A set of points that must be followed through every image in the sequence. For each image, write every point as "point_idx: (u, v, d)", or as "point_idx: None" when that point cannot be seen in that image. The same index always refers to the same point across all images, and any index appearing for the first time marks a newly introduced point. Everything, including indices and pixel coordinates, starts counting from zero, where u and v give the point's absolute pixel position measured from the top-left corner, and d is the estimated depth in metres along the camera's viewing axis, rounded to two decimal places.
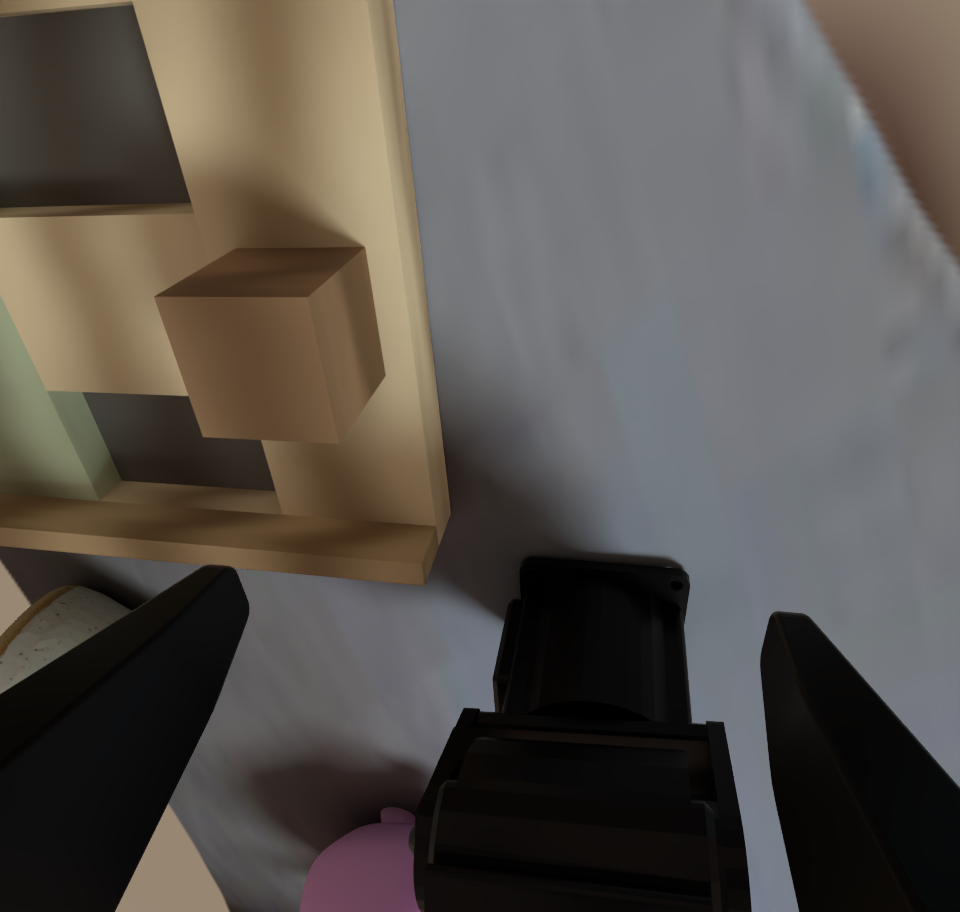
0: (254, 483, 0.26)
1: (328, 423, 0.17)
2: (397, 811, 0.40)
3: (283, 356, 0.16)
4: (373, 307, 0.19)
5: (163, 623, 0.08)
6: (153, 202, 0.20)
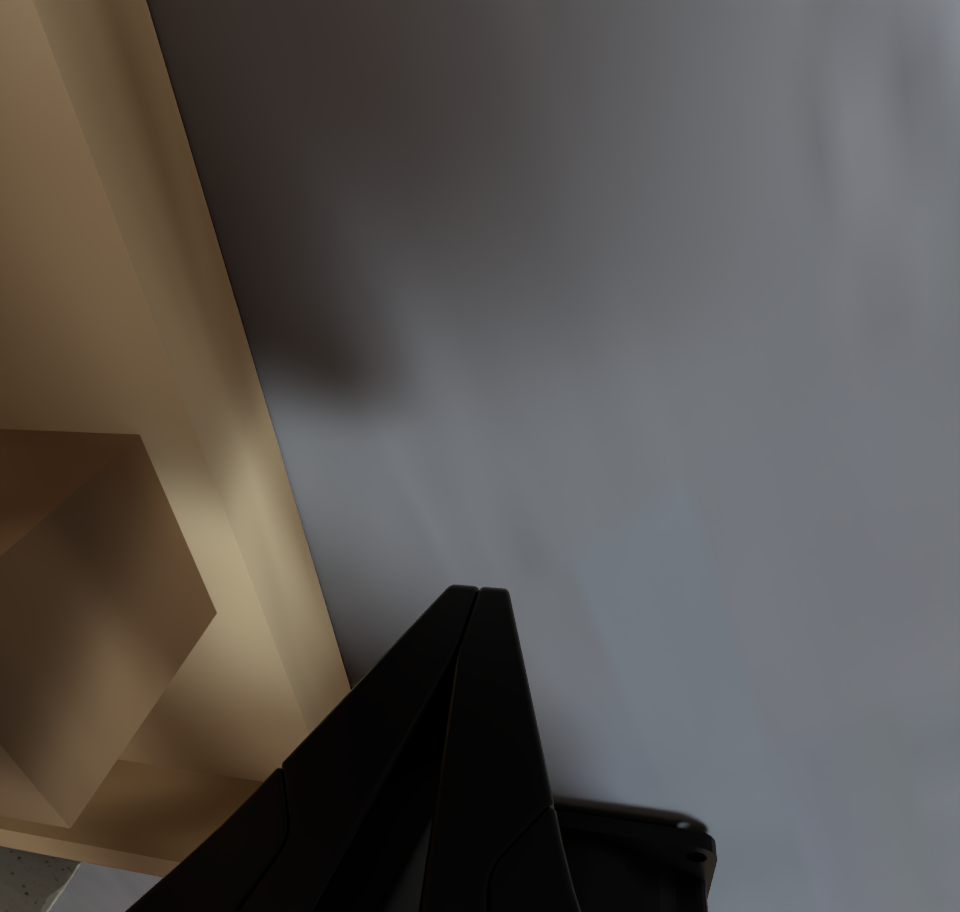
0: None
1: (39, 802, 0.09)
2: None
3: None
4: (173, 525, 0.11)
5: (444, 652, 0.08)
6: None
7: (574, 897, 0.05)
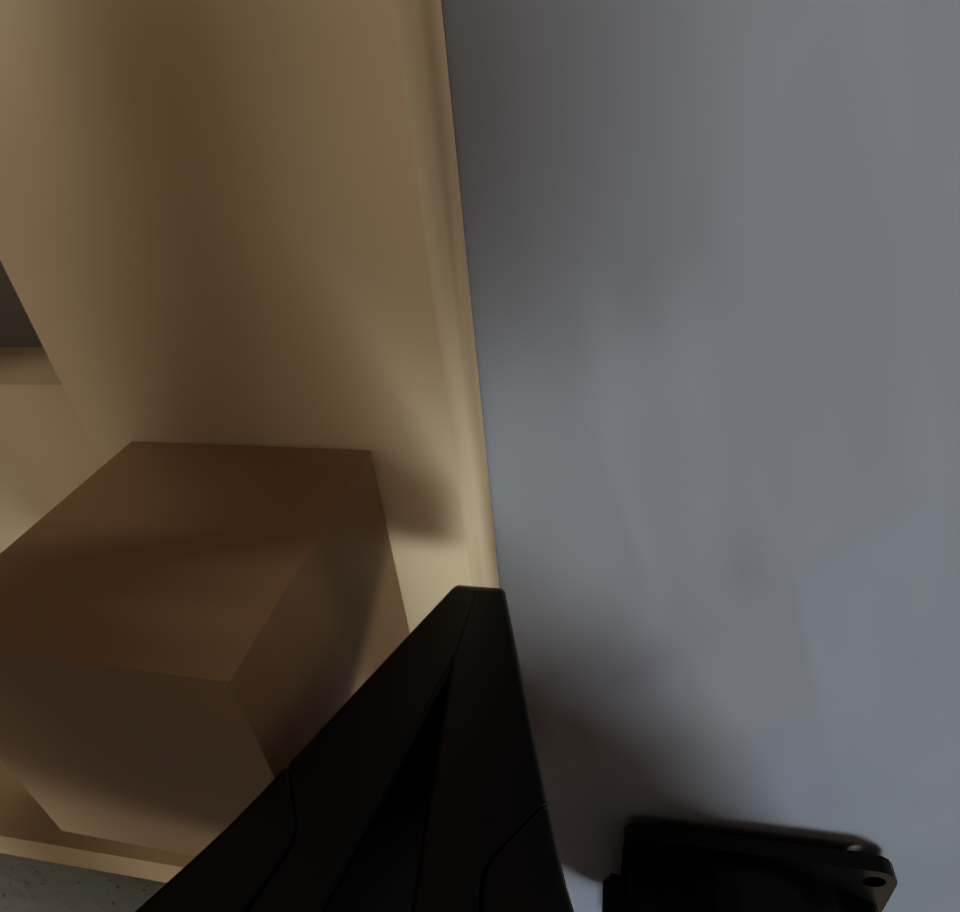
0: None
1: None
2: None
3: (190, 759, 0.07)
4: (387, 546, 0.10)
5: (450, 653, 0.08)
6: (7, 345, 0.11)
7: (565, 894, 0.05)
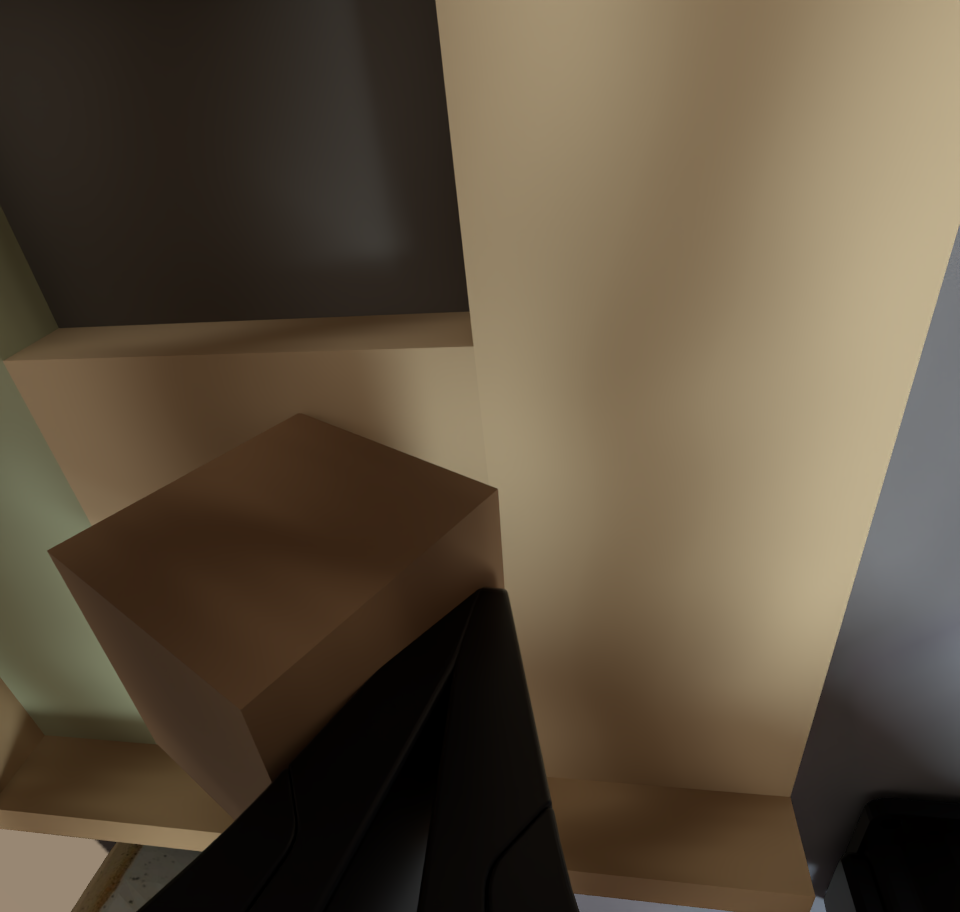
0: None
1: None
2: None
3: (224, 751, 0.07)
4: None
5: (450, 653, 0.08)
6: (354, 314, 0.11)
7: (571, 895, 0.05)
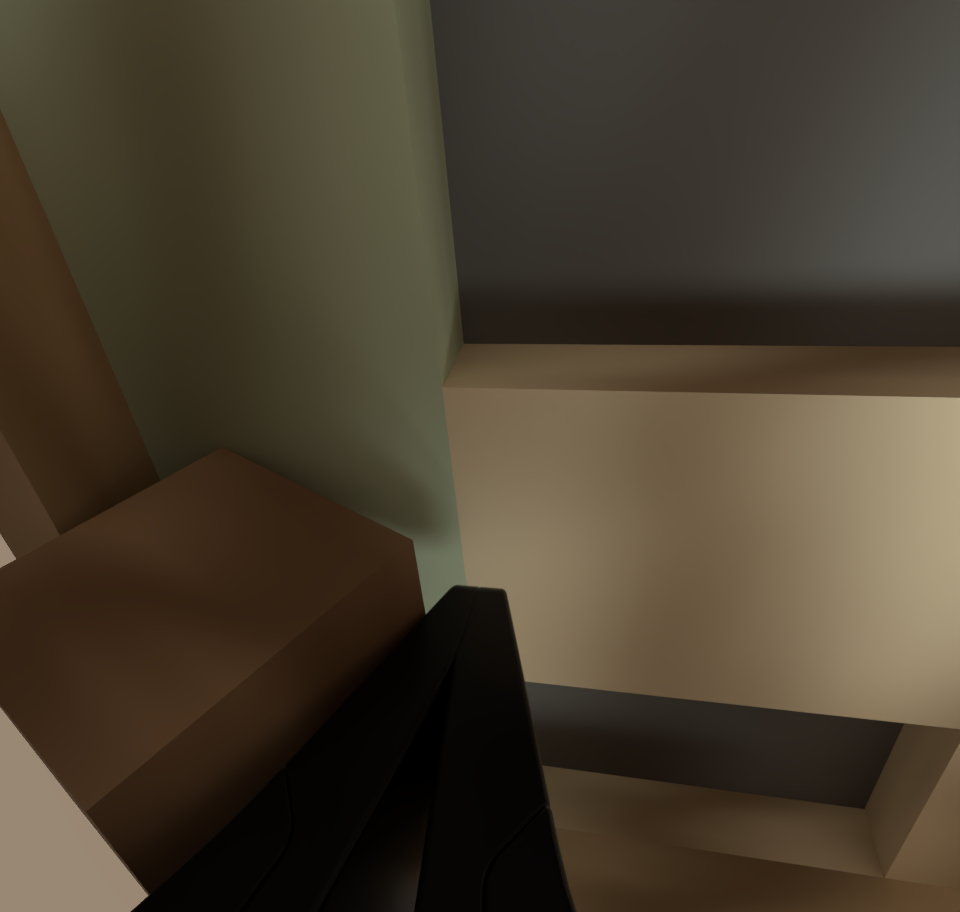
0: (779, 790, 0.14)
1: None
2: None
3: None
4: None
5: (447, 653, 0.08)
6: (884, 344, 0.09)
7: (570, 895, 0.05)
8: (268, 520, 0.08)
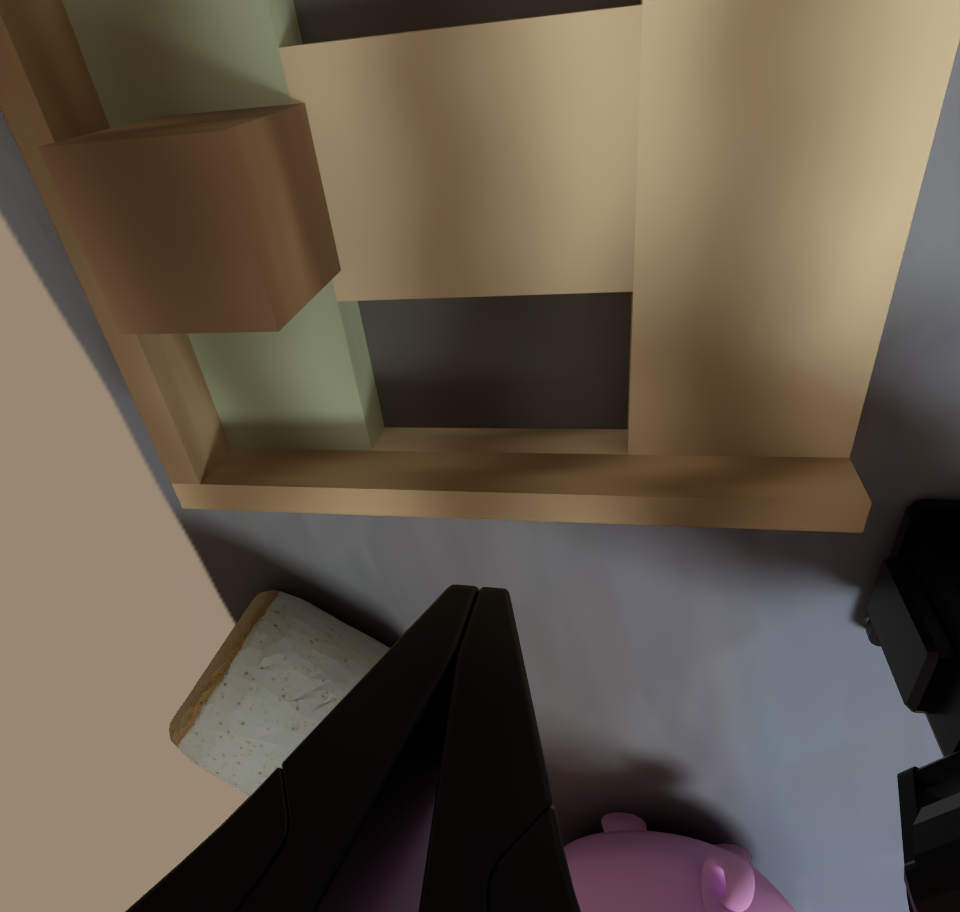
0: (569, 420, 0.21)
1: (263, 304, 0.14)
2: (626, 817, 0.34)
3: (200, 217, 0.13)
4: (320, 181, 0.16)
5: (444, 652, 0.08)
6: (538, 14, 0.15)
7: (574, 895, 0.05)
8: (217, 114, 0.15)
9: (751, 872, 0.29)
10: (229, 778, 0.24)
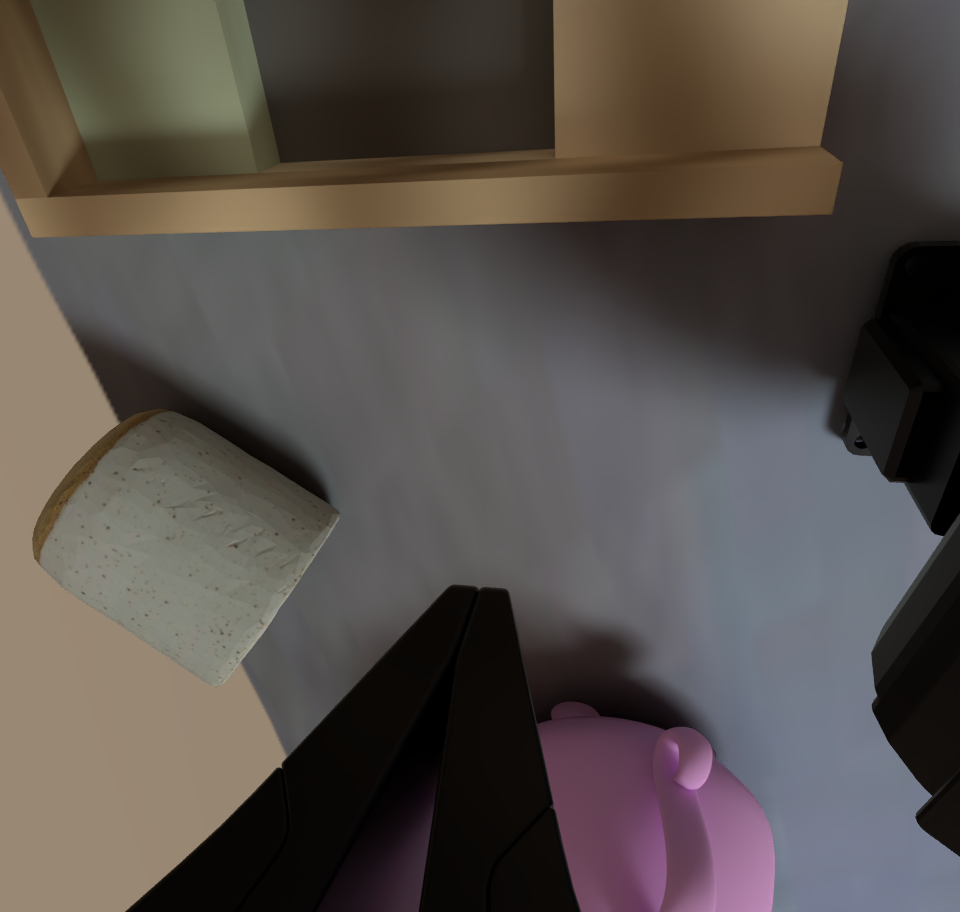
0: (492, 138, 0.17)
1: None
2: (577, 706, 0.31)
3: None
4: None
5: (444, 652, 0.08)
6: None
7: (573, 895, 0.05)
8: None
9: (709, 746, 0.25)
10: (96, 599, 0.21)
